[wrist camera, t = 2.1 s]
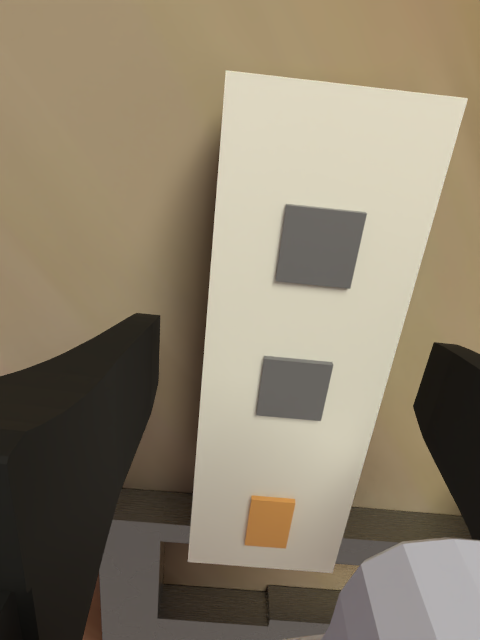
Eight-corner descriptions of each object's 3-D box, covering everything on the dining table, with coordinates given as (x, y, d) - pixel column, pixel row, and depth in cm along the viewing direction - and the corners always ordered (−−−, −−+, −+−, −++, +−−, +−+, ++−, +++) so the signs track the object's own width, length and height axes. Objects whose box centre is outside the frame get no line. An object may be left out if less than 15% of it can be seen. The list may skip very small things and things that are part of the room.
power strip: (201, 448, 18) (187, 566, 13) (232, 84, 13) (225, 69, 8) (310, 457, 18) (333, 577, 14) (387, 102, 13) (471, 98, 8)
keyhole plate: (114, 685, 25) (106, 720, 24) (107, 487, 19) (96, 518, 17) (427, 706, 26) (438, 741, 24) (523, 521, 20) (546, 554, 18)
